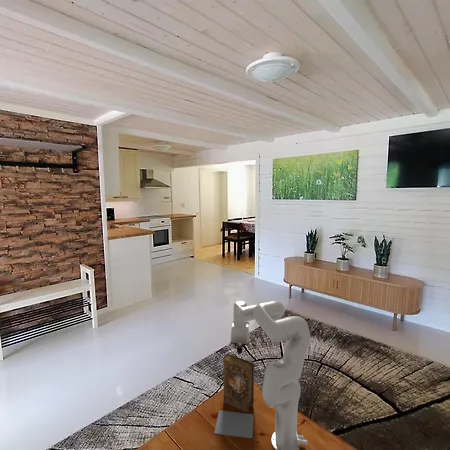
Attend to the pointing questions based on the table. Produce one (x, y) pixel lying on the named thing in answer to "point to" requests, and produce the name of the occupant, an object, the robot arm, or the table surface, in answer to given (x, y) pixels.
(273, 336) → the robot arm
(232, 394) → the book
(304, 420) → the table surface
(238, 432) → the mat
